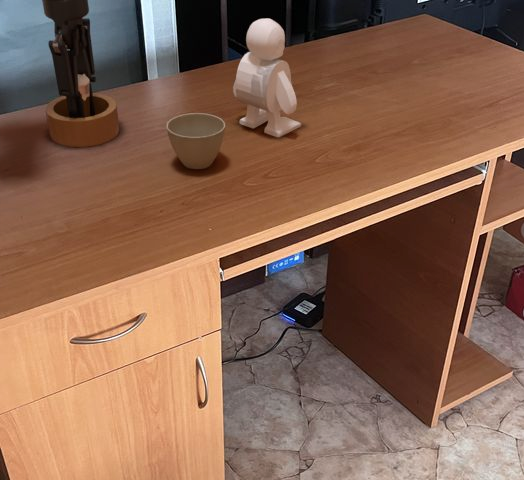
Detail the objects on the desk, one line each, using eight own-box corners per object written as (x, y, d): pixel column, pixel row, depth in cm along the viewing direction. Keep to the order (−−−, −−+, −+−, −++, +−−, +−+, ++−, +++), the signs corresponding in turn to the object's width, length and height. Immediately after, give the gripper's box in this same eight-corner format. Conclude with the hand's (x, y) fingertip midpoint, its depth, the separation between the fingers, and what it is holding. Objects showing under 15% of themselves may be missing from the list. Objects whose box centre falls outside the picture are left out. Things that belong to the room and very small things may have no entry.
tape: (39, 143, 144) (34, 117, 141) (65, 115, 154) (61, 90, 150) (105, 150, 142) (102, 123, 139) (128, 120, 152) (125, 95, 149)
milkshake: (101, 121, 148) (95, 67, 142) (84, 130, 144) (78, 75, 138) (81, 117, 150) (75, 63, 144) (64, 126, 146) (57, 71, 140)
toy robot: (309, 128, 149) (313, 20, 136) (280, 145, 144) (282, 33, 131) (252, 109, 156) (252, 4, 143) (223, 124, 151) (219, 16, 138)
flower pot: (225, 176, 135) (224, 137, 130) (167, 176, 135) (164, 137, 130) (226, 150, 142) (225, 112, 138) (171, 150, 142) (168, 112, 138)
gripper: (65, 7, 125) (86, 144, 140) (102, -23, 138) (117, 105, 153) (20, 4, 126) (46, 141, 141) (62, -26, 139) (81, 102, 154)
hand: (83, 122), depth 147 cm, fingers closed on milkshake, 4 cm apart
